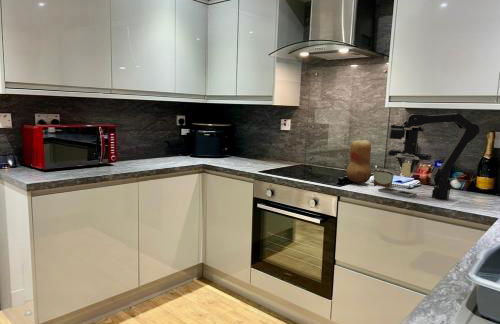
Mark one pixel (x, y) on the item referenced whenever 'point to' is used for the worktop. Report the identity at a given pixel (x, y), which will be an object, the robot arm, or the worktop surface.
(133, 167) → the worktop surface
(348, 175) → the butternut squash
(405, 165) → the light wood beam
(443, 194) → the robot arm
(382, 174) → the food container
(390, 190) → the grey slotted board
